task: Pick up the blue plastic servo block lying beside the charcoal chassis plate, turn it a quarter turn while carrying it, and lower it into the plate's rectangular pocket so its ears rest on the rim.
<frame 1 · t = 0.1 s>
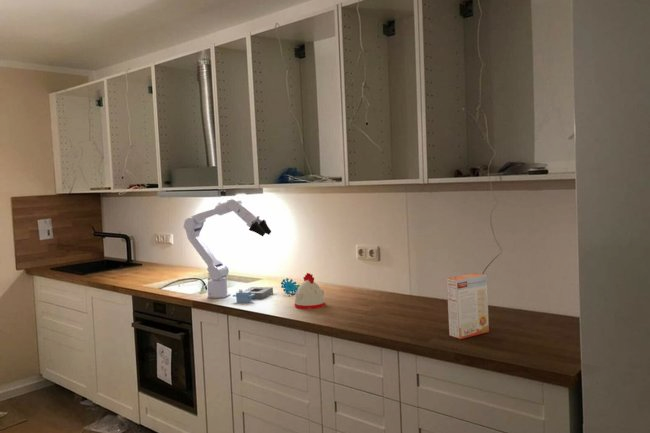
hand: (267, 233, 257), 32 cm above the worktop, tool tilted 50°, fingers open, 7 cm apart
chassis: (256, 295, 264), on the worktop
cracker box: (468, 334, 184), on the worktop
white and red dome: (309, 306, 238), on the worktop
servo: (244, 301, 252), on the worktop
gear: (291, 294, 266), on the worktop
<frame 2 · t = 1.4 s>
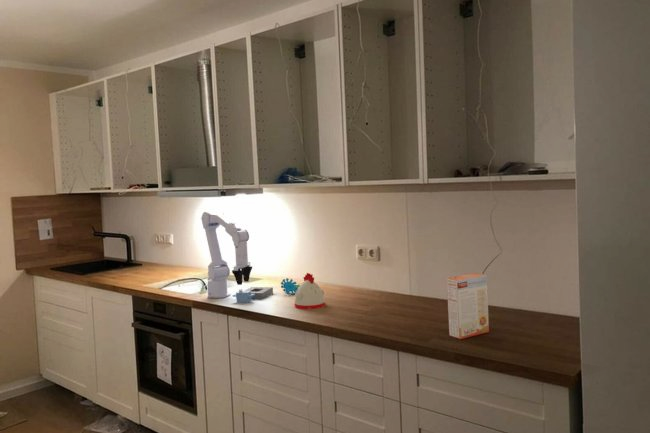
hand: (243, 283, 252), 9 cm above the worktop, tool pointing down, fingers open, 7 cm apart
nothing on the worktop moved.
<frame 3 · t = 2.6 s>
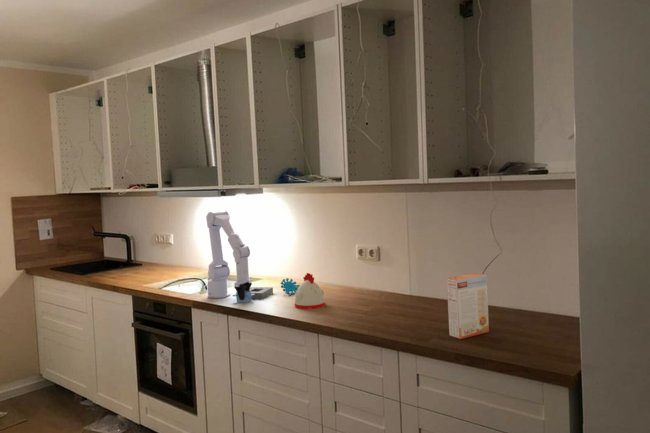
hand: (243, 298, 252), 1 cm above the worktop, tool pointing down, fingers closed on servo, 4 cm apart
servo: (244, 301, 252), on the worktop, touching gripper
everything else where it was.
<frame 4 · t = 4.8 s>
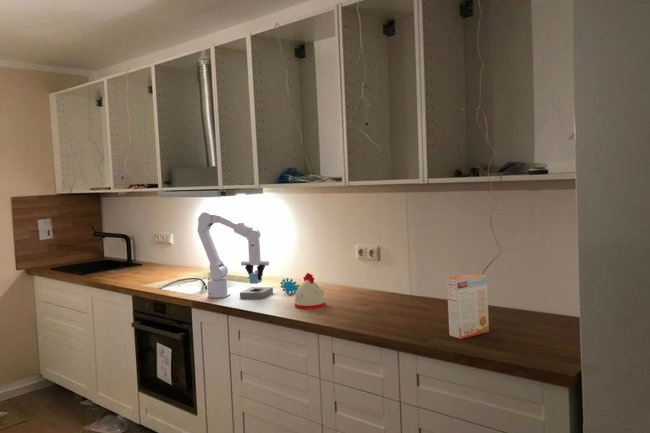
hand: (255, 279, 264), 8 cm above the worktop, tool pointing down, fingers closed on servo, 4 cm apart
servo: (255, 282, 264), point 7 cm above the worktop, touching gripper
everything else where it was.
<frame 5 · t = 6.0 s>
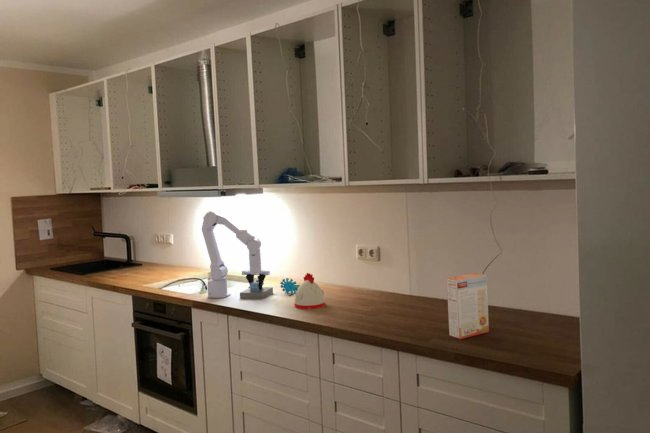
hand: (256, 289, 264), 3 cm above the worktop, tool pointing down, fingers closed on servo, 4 cm apart
servo: (256, 291, 264), point 2 cm above the worktop, touching gripper
everything else where it was.
when the fingers open (3 cm above the worktop, at t = 6.8 s): servo drops 2 cm, resting on chassis.
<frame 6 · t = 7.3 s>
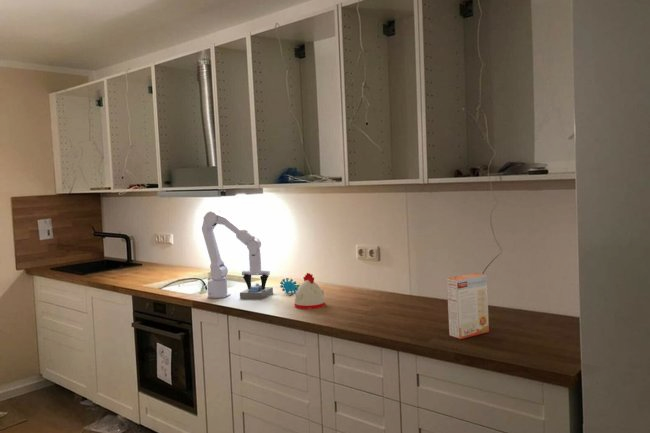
hand: (256, 289, 264), 3 cm above the worktop, tool pointing down, fingers open, 7 cm apart
servo: (256, 295, 264), resting on chassis
everything else where it was.
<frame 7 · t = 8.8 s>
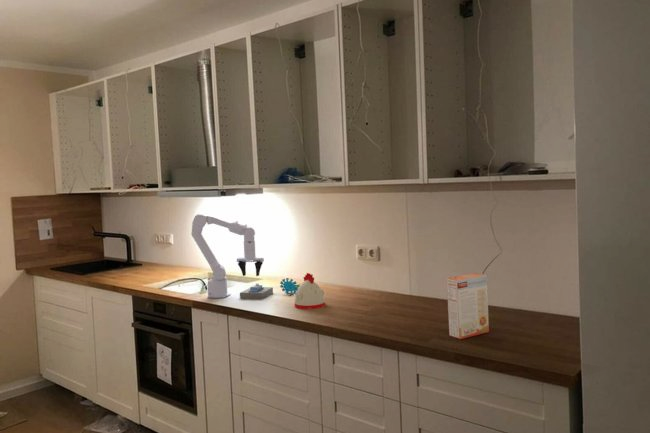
hand: (251, 275, 270), 9 cm above the worktop, tool pointing down, fingers open, 7 cm apart
nothing on the worktop moved.
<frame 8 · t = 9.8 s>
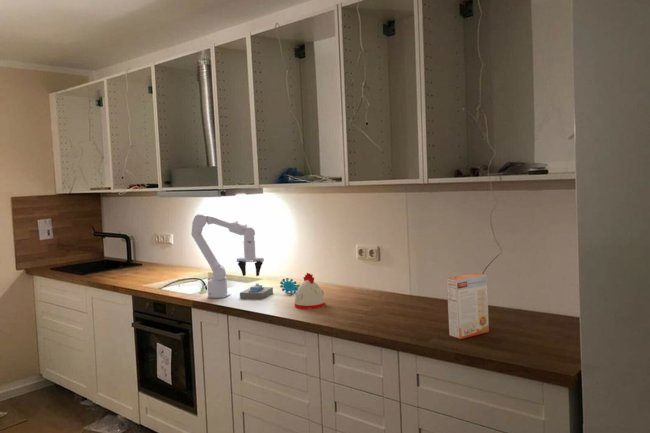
hand: (251, 275, 270), 9 cm above the worktop, tool pointing down, fingers open, 7 cm apart
nothing on the worktop moved.
at the end: servo 0.1 cm off-centre on the chassis, point 0.0 cm above the chassis's base; servo tilted 0°; the gripper is holding nothing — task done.
